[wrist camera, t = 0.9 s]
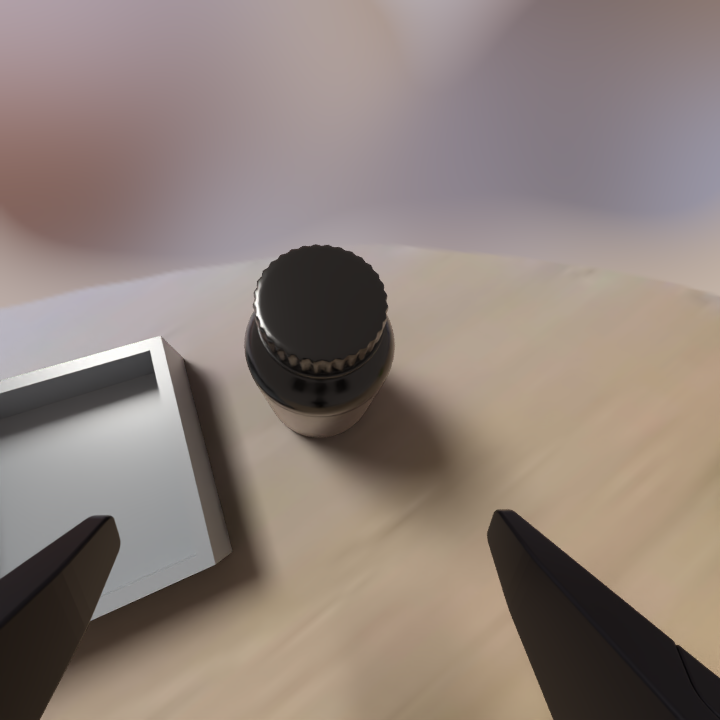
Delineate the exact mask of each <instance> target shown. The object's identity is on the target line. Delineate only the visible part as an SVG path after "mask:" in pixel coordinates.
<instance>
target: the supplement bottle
mask: <svg viewBox="0 0 720 720" xmlns="http://www.w3.org/2000/svg"><path fill="white" fill-rule="evenodd" d="M254 298H255V300H254V303H253V308H254V312H253V313H252V315H251V317H250V320H249V322H248V325H247V329H246V333H245V345H244V348H245V356H246V361H247V364H248V367H249V370H250V372H251V375H252V377H253V379H254V381H255V382H256V384H257V386H258V387H259V389H260V390H261V392H262V394H263V395H264V397H265V398H266V400H267V401H268V403H269V405H270V406H271V408H272V409H273V411H274V412H275V414H276V415H277V416H278V418H279V419H280V420H281V421H282V422H283V423H284V424H285V425H286V426H287V427H289V428H290V429H292V430H293V431H295V432H297V433H299V434H302V435H305V436H309V437H317V438H322V437H330V436H334V435H337V434H340V433H342V432H344V431H346V430H347V429H349V428H351V427H352V426H353V425H354V424H355V423H356V422H357V421H358V420H359V419H360V418H361V417H362V415H363V414H364V413H365V411H366V410H367V408H368V407H369V405H370V404H371V402H372V400H373V399H374V397H375V396H376V394H377V393H378V391H379V390H380V388H381V386H382V385H383V383H384V382H385V380H386V378H387V376H388V374H389V371H390V369H391V366H392V362H393V358H394V350H395V343H394V334H393V329H392V326H391V323H390V320H389V318H388V316H387V314H386V313H387V311H388V305H387V302H386V301H387V294H386V292H385V291H384V284H383V283H382V282H381V281H380V279H379V275H378V274H377V273H376V272H375V271H374V270H373V269H372V266H371V265H370V264H368V263H366V262H365V261H364V260H363V258H361V257H359V256H356V255H355V254H354V253H353V252H351V251H345V250H343V249H342V248H340V247H332V246H330V245H324V246H320V245H312V246H302V247H300V248H299V249H292V250H290V251H289V252H288V253H286V254H282V255H280V256H279V258H278V259H277V260H275V261H272V262H271V263H270V265H269V267H268V268H267V269H265V270H264V271H263V273H262V277H261V278H260V279H259V280H258V281H257V288H256V290H255V291H254Z"/></svg>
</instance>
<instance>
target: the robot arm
mask: <svg viewBox="0 0 720 720" xmlns="http://www.w3.org/2000/svg"><path fill="white" fill-rule="evenodd" d="M487 539H488V544H489V547H490V550H491V553H492V557H493V560H494V563H495V567H496V570H497V573H498V576H499V580H500V583H501V586H502V590H503V593H504V596H505V599H506V602H507V605H508V608H509V611H510V613H511V616H512V619H513V621H514V624H515V626H516V629H517V631H518V634H519V636H520V638H521V641H522V643H523V646H524V648H525V651H526V653H527V656H528V658H529V661H530V663H531V666H532V668H533V671H534V673H535V676H536V678H537V680H538V683H539V685H540V688H541V690H542V693H543V695H544V698H545V700H546V703H547V705H548V708H549V710H550V713H551V715H552V718H553V720H720V678H719V677H718V676H717V675H715V674H714V673H713V672H712V671H710V670H709V669H708V668H707V667H705V666H704V665H703V664H702V663H700V662H699V661H698V660H697V659H695V658H694V657H693V656H692V655H690V654H689V653H688V652H687V651H686V650H684V649H683V648H682V647H681V646H679V645H675V642H674V641H673V640H672V639H671V638H669V637H668V636H667V635H666V634H664V633H663V632H662V631H661V630H660V629H658V628H657V627H656V626H655V625H653V624H652V623H651V622H650V621H648V620H647V619H646V618H645V617H644V616H642V615H641V614H640V613H639V612H637V611H636V610H635V609H634V608H633V607H631V606H630V605H629V604H628V603H626V602H625V601H624V600H623V599H621V598H620V597H619V596H618V595H617V594H615V593H614V592H613V591H612V590H610V589H609V588H608V587H607V586H605V585H604V584H603V583H602V582H601V581H599V580H598V579H597V578H596V577H594V576H593V575H592V574H591V573H589V572H588V571H587V570H586V569H585V568H583V567H582V566H581V565H580V564H578V563H577V562H576V561H575V560H574V559H572V558H571V557H570V556H569V555H567V554H566V553H565V552H564V551H562V550H561V549H560V548H559V547H558V546H556V545H555V544H554V543H553V542H551V541H550V540H549V539H548V538H546V537H545V536H544V535H543V534H542V533H540V532H539V531H538V530H537V529H535V528H534V527H533V526H532V525H531V524H529V523H528V522H527V521H526V520H524V519H523V518H522V517H521V516H519V515H518V514H517V513H516V512H514V511H513V510H509V509H502V510H496V511H495V512H494V514H493V517H492V520H491V523H490V526H489V529H488V532H487ZM120 545H121V540H120V536H119V533H118V529H117V526H116V523H115V519H114V517H112V516H111V515H94V516H90V517H88V518H87V519H85V520H84V521H82V522H81V523H79V524H78V525H76V526H75V527H74V528H72V529H71V530H69V531H68V532H66V533H65V534H64V535H62V536H61V537H59V538H58V539H56V540H55V541H54V542H52V543H51V544H49V545H48V546H46V547H45V548H43V549H42V550H41V551H39V552H38V553H36V554H35V555H33V556H32V557H31V558H29V559H28V560H26V561H25V562H23V563H22V564H21V565H19V566H18V567H16V568H15V569H13V570H12V571H11V572H9V573H8V574H6V575H5V576H3V577H2V578H1V579H0V720H40V718H41V716H42V715H43V713H44V711H45V709H46V707H47V705H48V703H49V701H50V699H51V697H52V695H53V693H54V691H55V690H56V688H57V686H58V684H59V682H60V680H61V678H62V676H63V674H64V672H65V670H66V668H67V666H68V665H69V663H70V661H71V659H72V657H73V655H74V653H75V651H76V649H77V647H78V645H79V643H80V641H81V639H82V637H83V635H84V633H85V631H86V629H87V627H88V625H89V622H90V620H91V618H92V616H93V613H94V611H95V608H96V606H97V604H98V601H99V599H100V596H101V594H102V591H103V589H104V587H105V584H106V582H107V579H108V577H109V574H110V572H111V570H112V567H113V565H114V562H115V560H116V557H117V555H118V553H119V550H120Z"/></svg>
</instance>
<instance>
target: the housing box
mask: <svg viewBox="0 0 720 720" xmlns="http://www.w3.org/2000/svg"><path fill="white" fill-rule="evenodd" d="M94 515H111V516H112V517H114V519H115V523H116V526H117V529H118V533H119V536H120V540H121V545H120V550H119V553H118V555H117V557H116V560H115V562H114V565H113V567H112V570H111V572H110V574H109V577H108V579H107V582H106V584H105V587H104V589H103V591H102V594H101V596H100V599H99V601H98V604H97V606H96V608H95V611H94V613H93V616H92V618H91V620H94V619H96V618H98V617H100V616H102V615H105V614H107V613H109V612H111V611H114V610H116V609H118V608H120V607H122V606H125V605H127V604H129V603H131V602H134V601H136V600H138V599H140V598H142V597H145V596H147V595H149V594H151V593H154V592H156V591H158V590H160V589H162V588H165V587H167V586H169V585H171V584H173V583H176V582H178V581H180V580H182V579H185V578H187V577H189V576H191V575H193V574H196V573H198V572H200V571H202V570H205V569H207V568H209V567H211V566H213V565H216V564H217V563H218V562H220V561H221V560H222V559H223V558H225V557H226V556H227V555H229V554H230V553H231V552H233V551H232V547H231V543H230V539H229V535H228V532H227V528H226V524H225V520H224V516H223V512H222V508H221V504H220V500H219V496H218V493H217V489H216V485H215V481H214V477H213V473H212V469H211V465H210V461H209V457H208V454H207V450H206V446H205V442H204V438H203V434H202V430H201V426H200V422H199V418H198V415H197V411H196V407H195V403H194V399H193V395H192V391H191V387H190V383H189V379H188V376H187V372H186V368H185V364H184V360H183V357H182V356H181V355H180V354H179V353H178V352H177V351H176V350H175V349H173V348H172V347H171V346H170V345H169V344H168V343H167V342H166V341H165V340H164V339H163V338H162V337H161V336H158V337H155V338H151V339H147V340H144V341H140V342H137V343H133V344H130V345H126V346H122V347H119V348H115V349H112V350H108V351H104V352H101V353H97V354H94V355H90V356H86V357H83V358H79V359H76V360H72V361H69V362H65V363H61V364H58V365H54V366H51V367H47V368H43V369H40V370H36V371H33V372H29V373H26V374H22V375H18V376H15V377H11V378H8V379H4V380H0V579H1V578H2V577H3V576H5V575H6V574H8V573H9V572H11V571H12V570H13V569H15V568H16V567H18V566H19V565H21V564H22V563H23V562H25V561H26V560H28V559H29V558H31V557H32V556H33V555H35V554H36V553H38V552H39V551H41V550H42V549H43V548H45V547H46V546H48V545H49V544H51V543H52V542H54V541H55V540H56V539H58V538H59V537H61V536H62V535H64V534H65V533H66V532H68V531H69V530H71V529H72V528H74V527H75V526H76V525H78V524H79V523H81V522H82V521H84V520H85V519H87V518H88V517H90V516H94ZM91 620H90V621H91Z"/></svg>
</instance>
